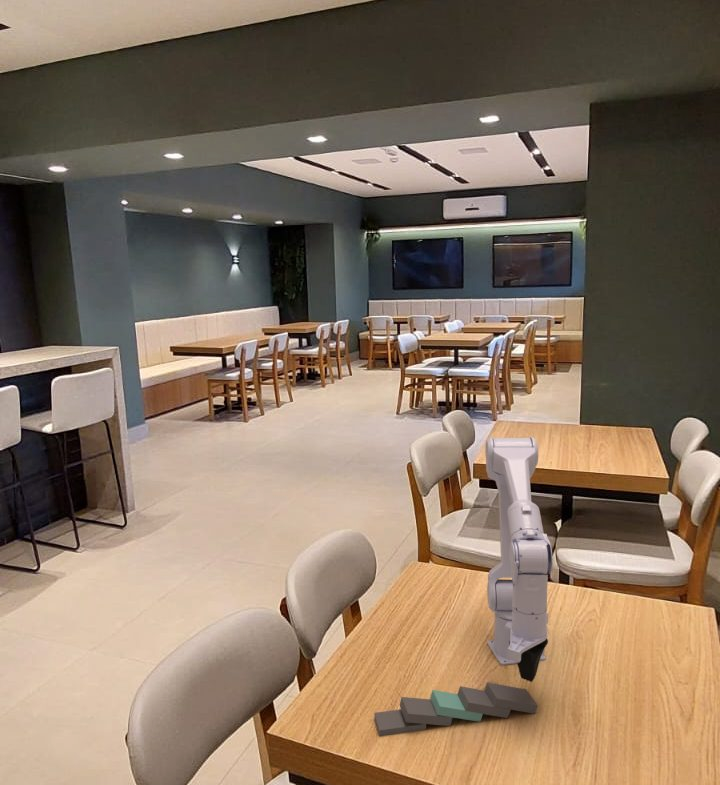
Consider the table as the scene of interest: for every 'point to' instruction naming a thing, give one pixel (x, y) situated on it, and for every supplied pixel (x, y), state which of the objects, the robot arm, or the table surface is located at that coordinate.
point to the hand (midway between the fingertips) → (527, 678)
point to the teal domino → (451, 706)
